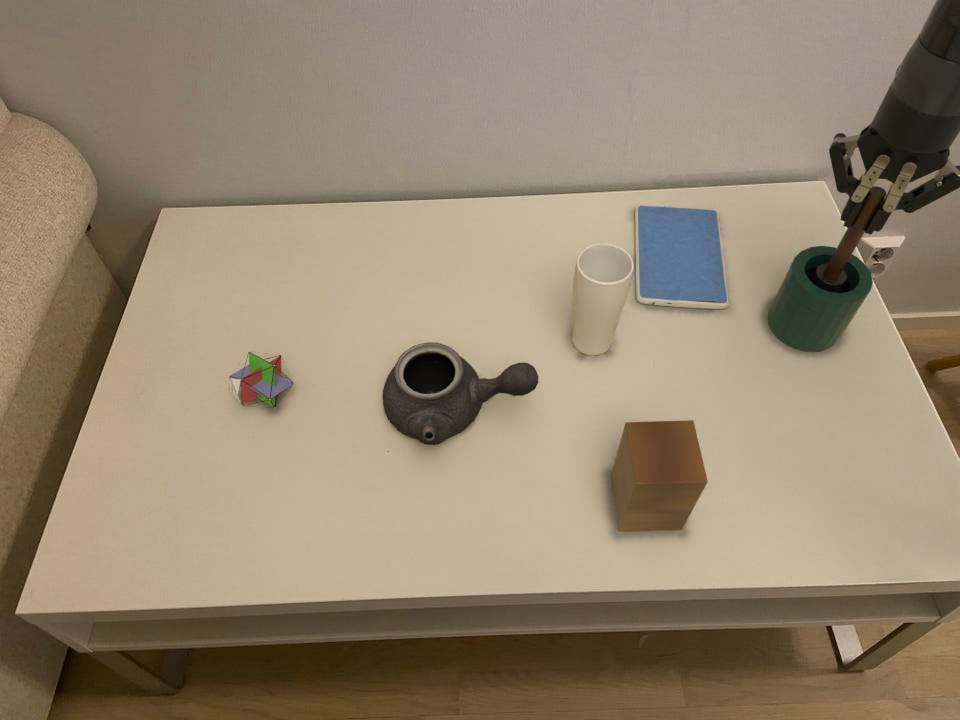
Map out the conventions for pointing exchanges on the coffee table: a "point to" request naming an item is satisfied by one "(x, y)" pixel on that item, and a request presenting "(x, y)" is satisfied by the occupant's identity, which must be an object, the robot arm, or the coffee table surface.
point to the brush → (848, 244)
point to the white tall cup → (599, 296)
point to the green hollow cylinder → (817, 302)
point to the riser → (657, 475)
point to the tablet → (680, 258)
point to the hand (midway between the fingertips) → (858, 225)
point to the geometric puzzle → (259, 380)
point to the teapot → (444, 391)
